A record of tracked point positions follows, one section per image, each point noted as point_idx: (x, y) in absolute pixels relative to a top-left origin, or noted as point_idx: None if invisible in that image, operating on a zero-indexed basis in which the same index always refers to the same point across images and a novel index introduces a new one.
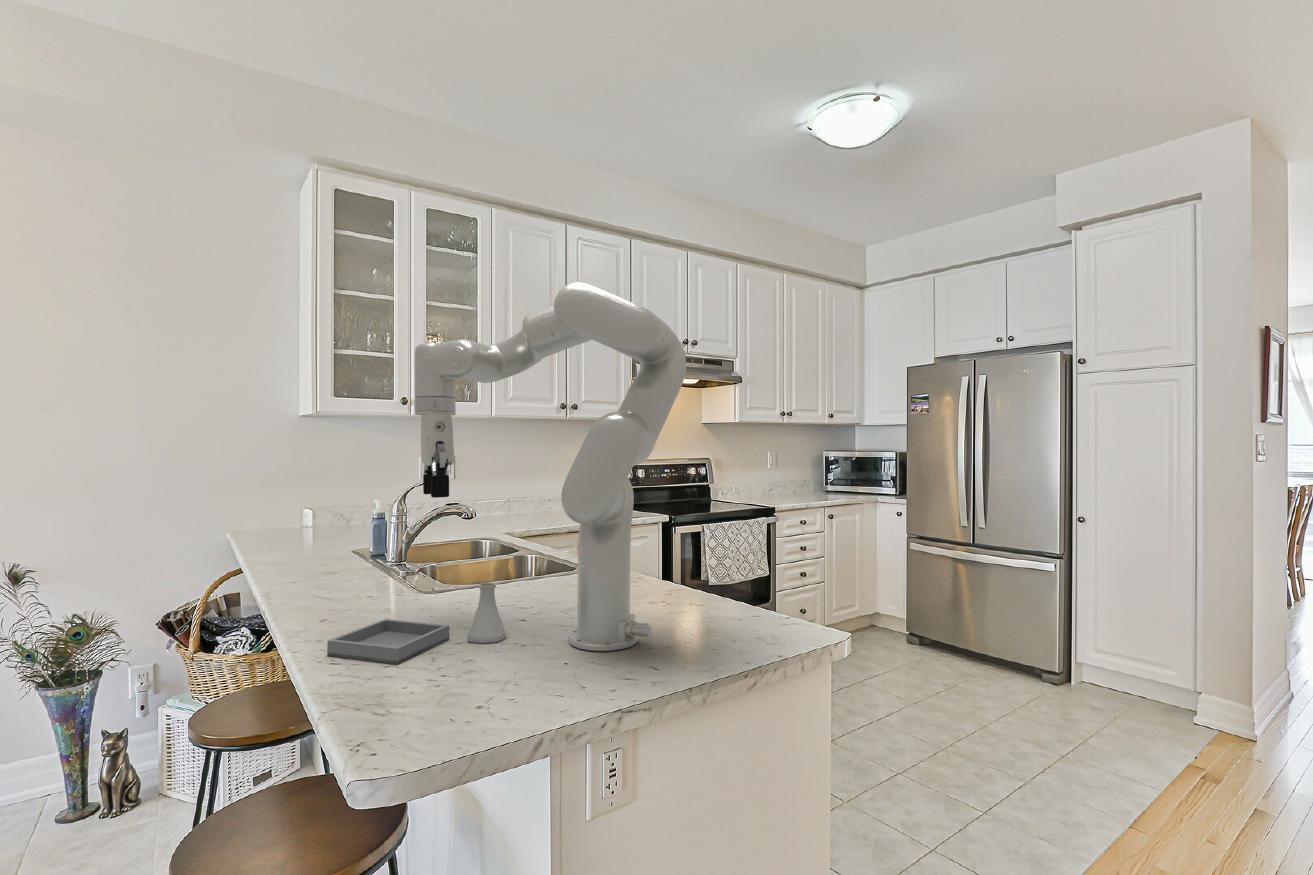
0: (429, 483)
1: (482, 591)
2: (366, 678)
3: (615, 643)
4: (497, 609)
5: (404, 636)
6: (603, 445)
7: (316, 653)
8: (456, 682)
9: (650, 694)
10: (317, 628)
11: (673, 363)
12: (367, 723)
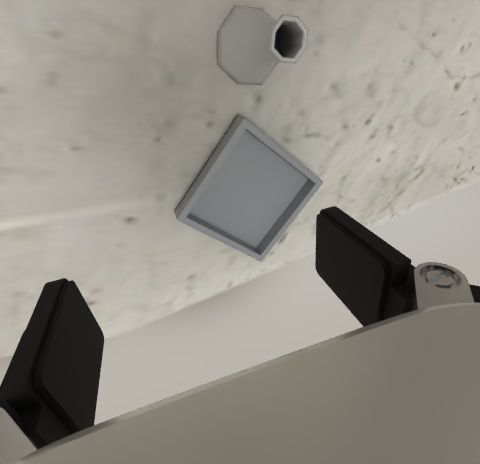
0: (86, 366)
1: (292, 54)
2: (338, 199)
3: None
4: (264, 19)
5: (219, 181)
6: None
7: (241, 264)
8: (392, 107)
9: None
10: (132, 296)
11: None
12: (429, 180)
